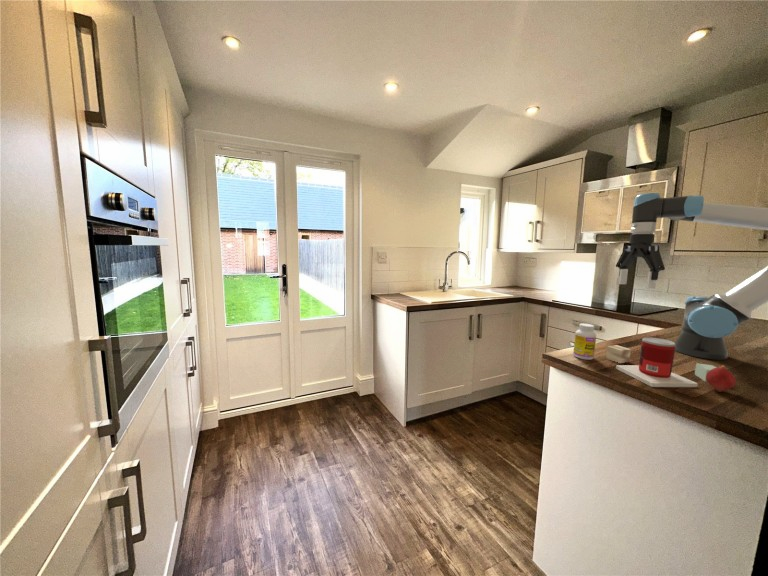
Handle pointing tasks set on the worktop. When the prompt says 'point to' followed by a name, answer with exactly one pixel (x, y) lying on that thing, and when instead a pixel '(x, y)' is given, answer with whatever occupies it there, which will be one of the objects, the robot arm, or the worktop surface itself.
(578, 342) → the supplement bottle
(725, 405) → the worktop surface
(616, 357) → the beech block
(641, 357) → the canned food
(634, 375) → the tray
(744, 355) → the worktop surface
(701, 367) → the sage block
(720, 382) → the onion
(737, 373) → the worktop surface
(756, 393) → the worktop surface
